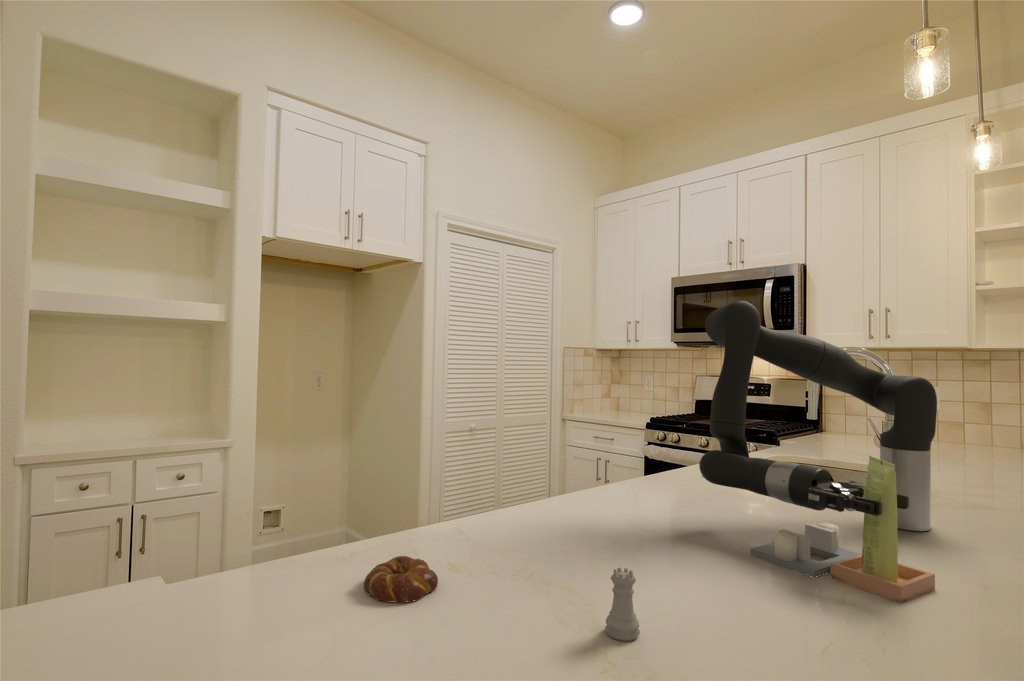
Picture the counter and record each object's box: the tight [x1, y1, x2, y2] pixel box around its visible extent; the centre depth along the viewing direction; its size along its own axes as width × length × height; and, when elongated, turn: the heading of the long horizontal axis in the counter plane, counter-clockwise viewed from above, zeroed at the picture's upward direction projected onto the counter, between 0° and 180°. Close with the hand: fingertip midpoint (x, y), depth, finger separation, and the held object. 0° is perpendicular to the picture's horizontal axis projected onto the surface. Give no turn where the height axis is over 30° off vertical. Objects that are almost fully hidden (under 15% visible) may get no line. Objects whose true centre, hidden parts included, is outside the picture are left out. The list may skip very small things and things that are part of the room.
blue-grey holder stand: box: [749, 522, 861, 578], centre depth 101 cm, size 17×12×5 cm
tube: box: [861, 455, 899, 583], centre depth 90 cm, size 6×5×20 cm
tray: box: [830, 553, 936, 604], centre depth 90 cm, size 11×11×2 cm
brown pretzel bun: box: [363, 555, 439, 603], centre depth 84 cm, size 12×11×4 cm
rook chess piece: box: [604, 567, 641, 642], centre depth 72 cm, size 4×4×8 cm
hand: (894, 505), depth 89 cm, fingers open, 8 cm apart
